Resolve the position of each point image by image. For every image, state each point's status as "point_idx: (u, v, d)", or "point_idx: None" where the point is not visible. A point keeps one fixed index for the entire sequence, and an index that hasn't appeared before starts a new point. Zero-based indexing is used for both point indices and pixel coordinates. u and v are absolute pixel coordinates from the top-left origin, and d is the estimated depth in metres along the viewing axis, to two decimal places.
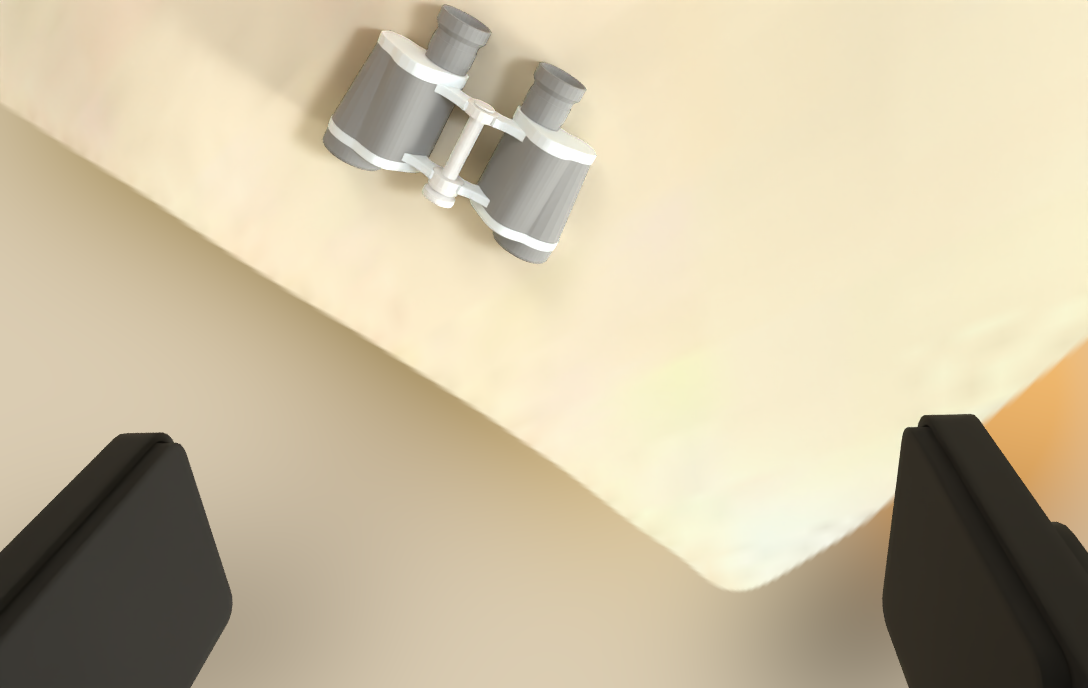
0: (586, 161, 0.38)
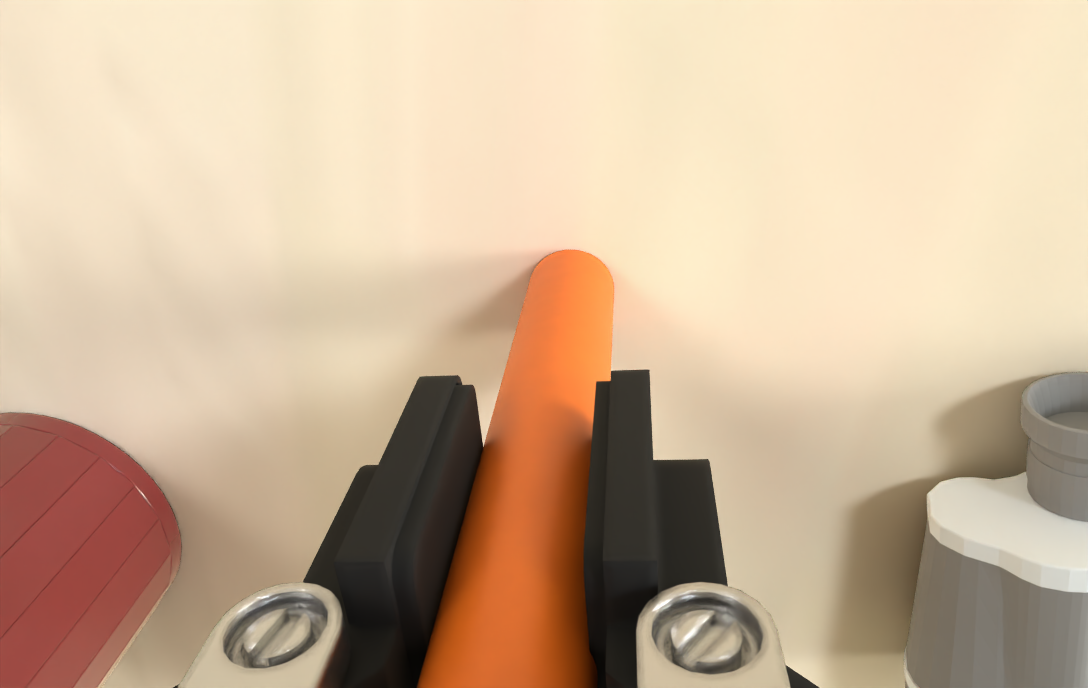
0: None
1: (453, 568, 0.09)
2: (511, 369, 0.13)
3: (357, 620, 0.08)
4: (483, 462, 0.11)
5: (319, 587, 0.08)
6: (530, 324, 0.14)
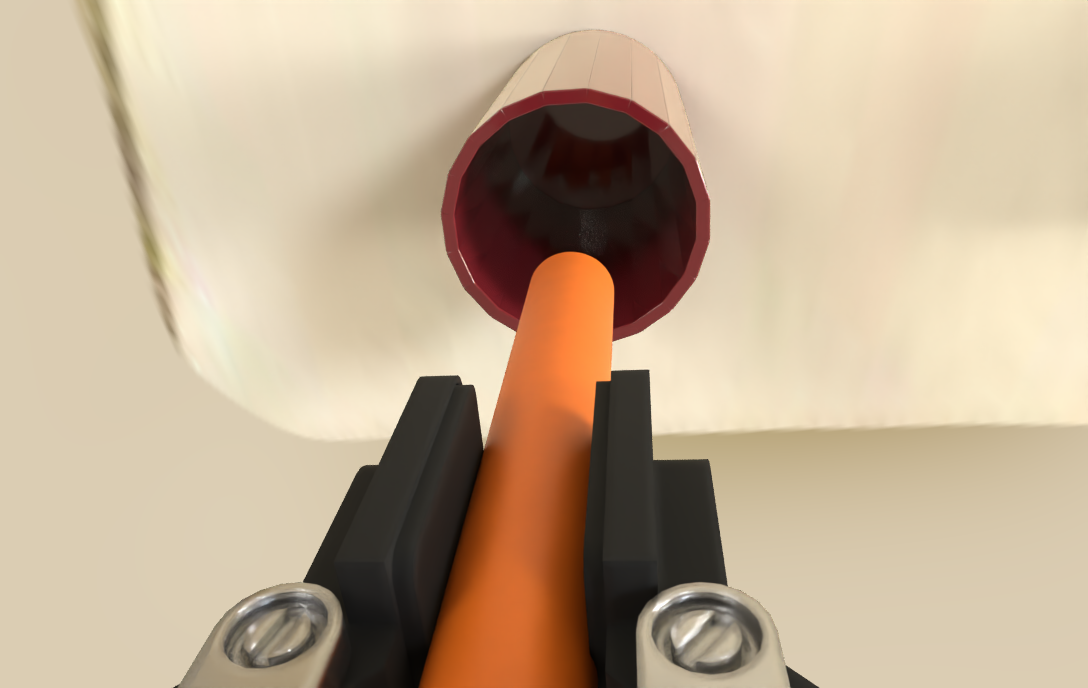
0: None
1: (453, 572, 0.09)
2: (511, 372, 0.13)
3: (357, 620, 0.08)
4: (483, 465, 0.11)
5: (319, 587, 0.08)
6: (531, 326, 0.15)
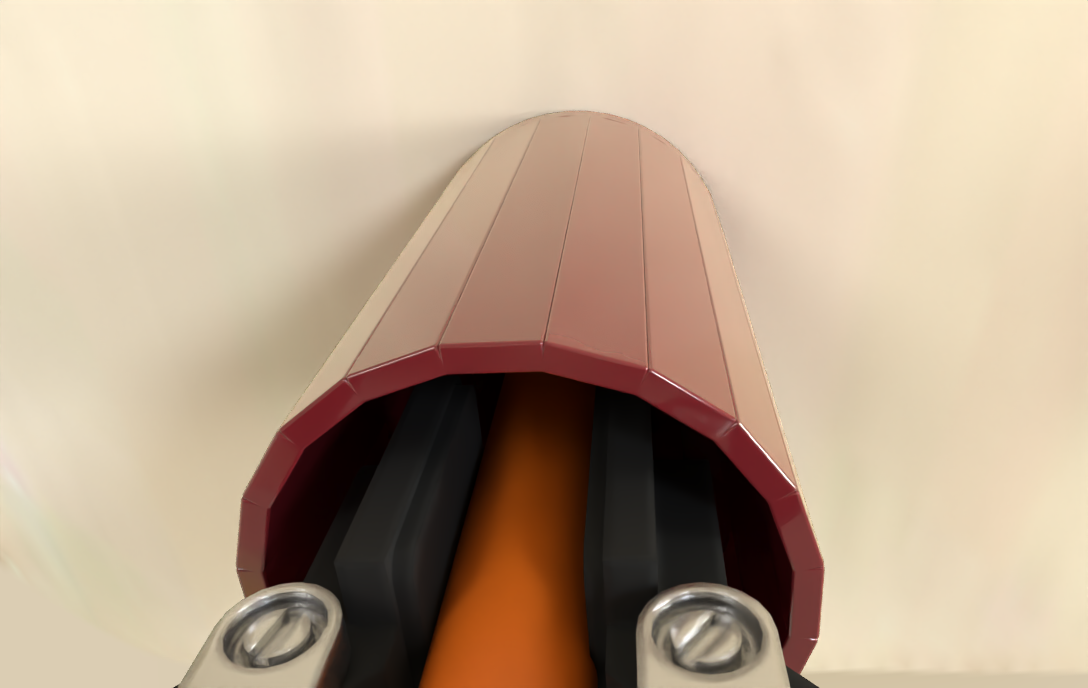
0: None
1: (453, 572, 0.09)
2: None
3: (357, 620, 0.08)
4: (483, 465, 0.11)
5: (319, 587, 0.08)
6: None
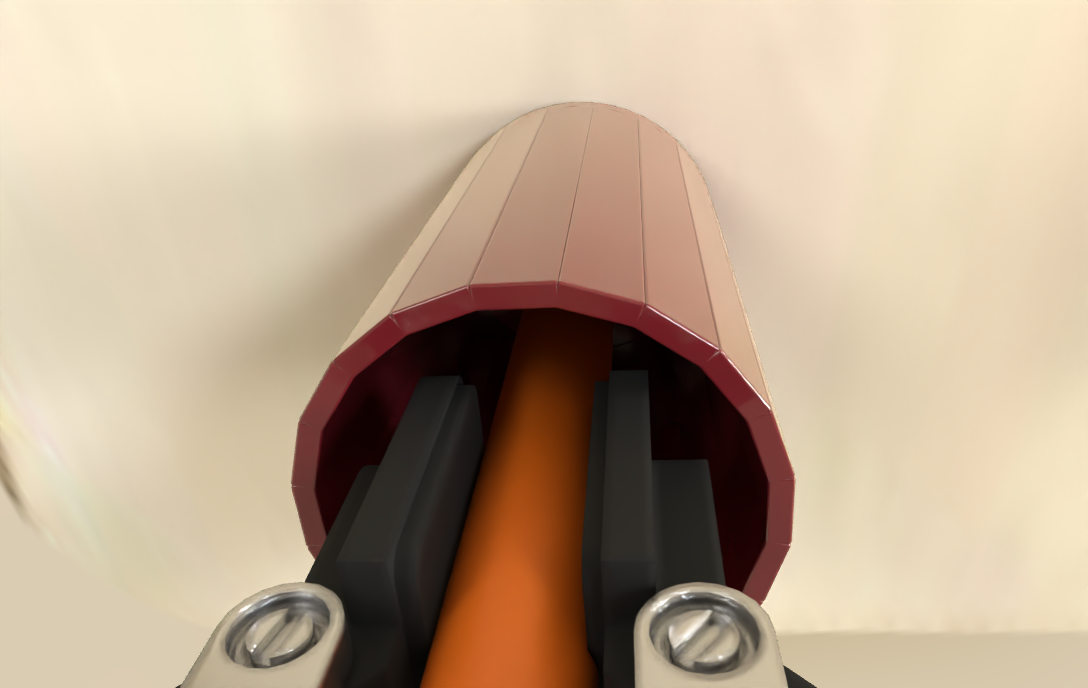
0: None
1: (455, 571, 0.09)
2: (512, 372, 0.13)
3: (359, 620, 0.08)
4: (484, 465, 0.11)
5: (321, 587, 0.08)
6: (531, 327, 0.15)
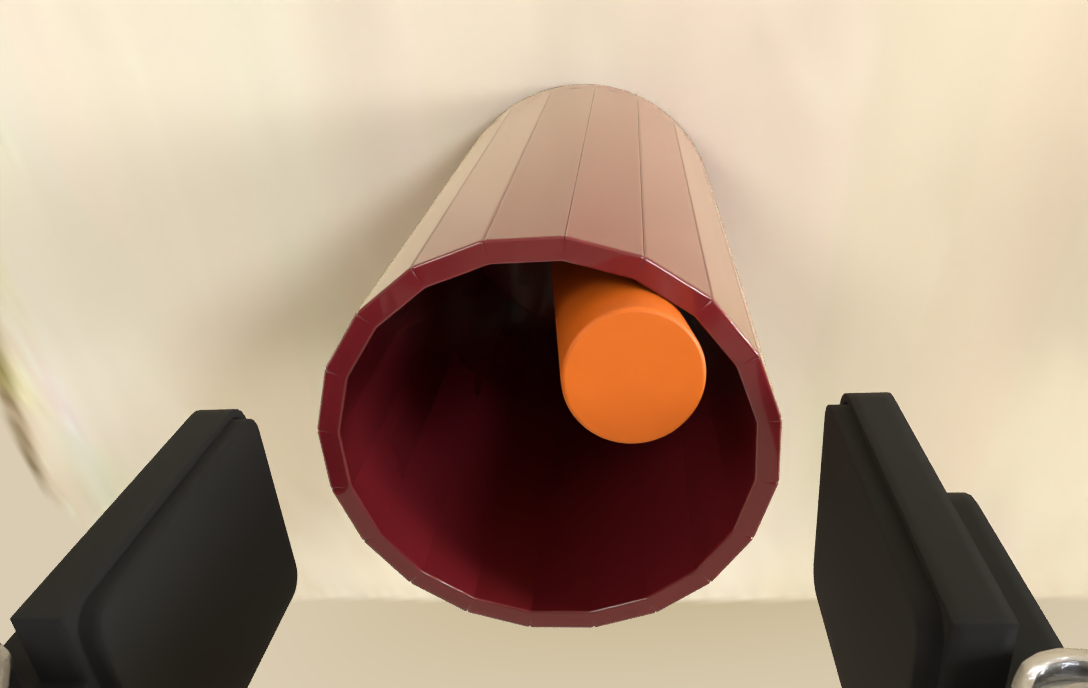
0: None
1: (564, 288, 0.13)
2: None
3: (46, 677, 0.08)
4: None
5: None
6: None
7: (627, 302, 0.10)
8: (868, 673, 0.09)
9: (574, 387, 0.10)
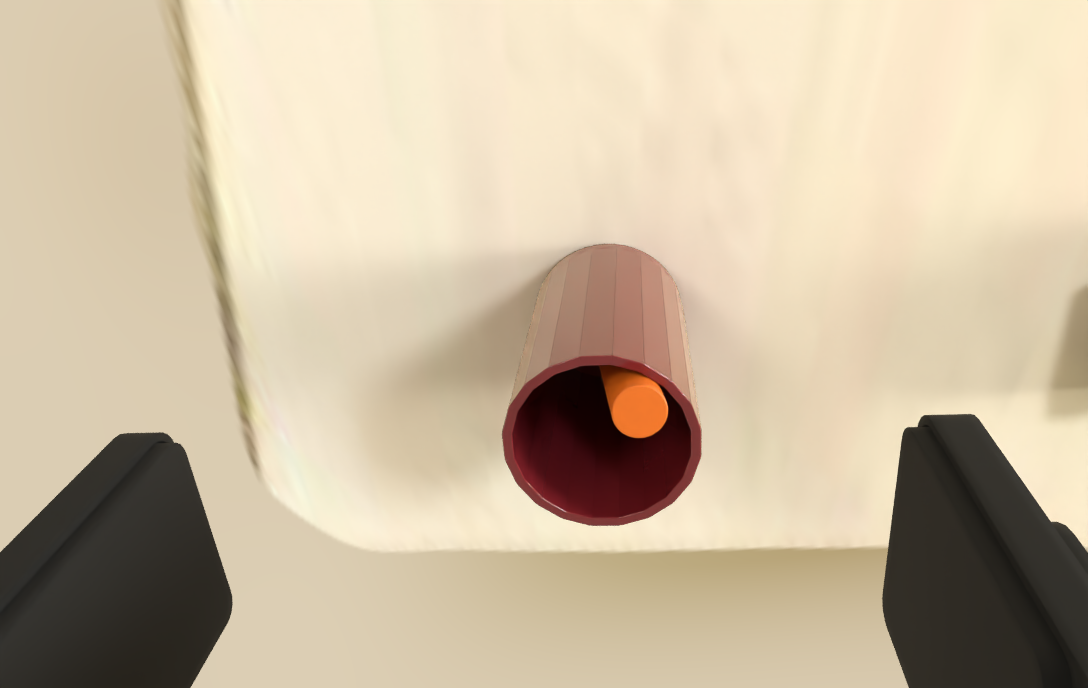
0: None
1: (608, 371, 0.29)
2: None
3: None
4: None
5: None
6: None
7: (637, 382, 0.27)
8: None
9: (616, 416, 0.27)
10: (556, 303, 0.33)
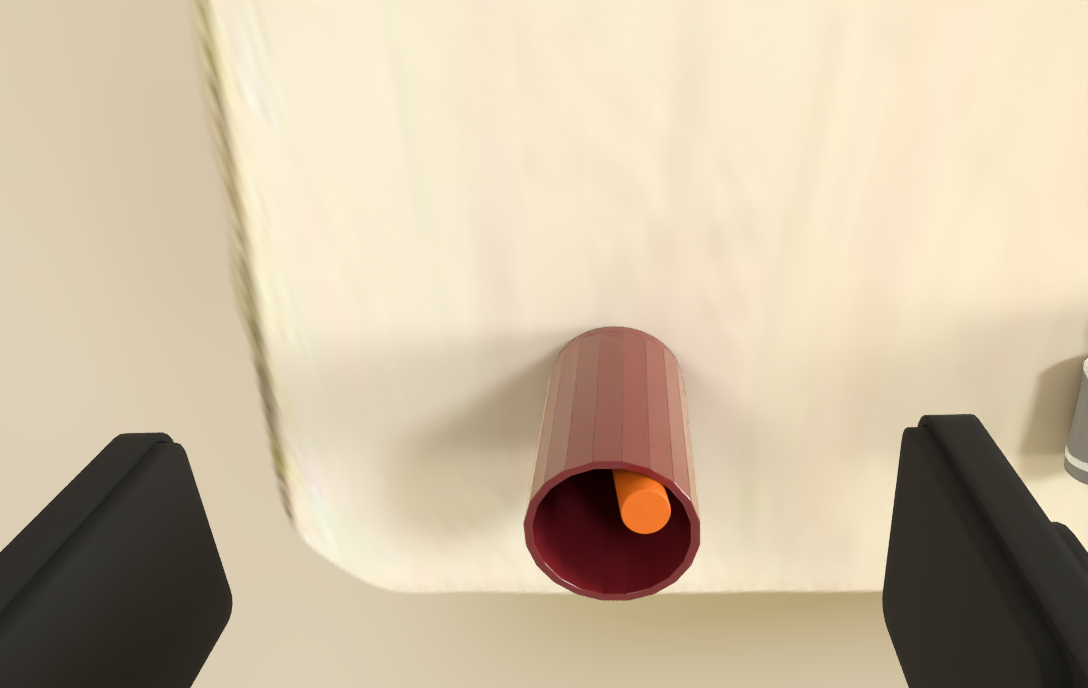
0: None
1: None
2: None
3: None
4: None
5: None
6: None
7: (643, 486, 0.30)
8: None
9: (625, 515, 0.30)
10: (569, 394, 0.36)
